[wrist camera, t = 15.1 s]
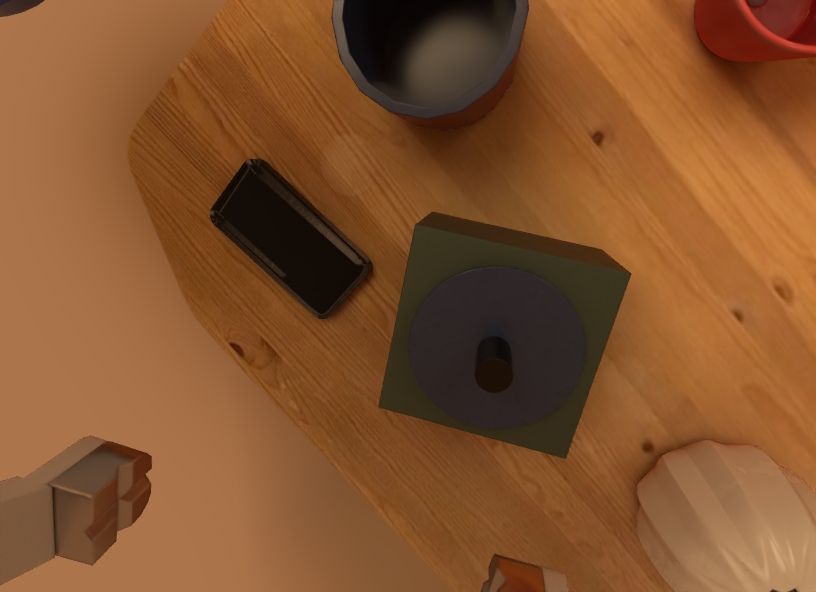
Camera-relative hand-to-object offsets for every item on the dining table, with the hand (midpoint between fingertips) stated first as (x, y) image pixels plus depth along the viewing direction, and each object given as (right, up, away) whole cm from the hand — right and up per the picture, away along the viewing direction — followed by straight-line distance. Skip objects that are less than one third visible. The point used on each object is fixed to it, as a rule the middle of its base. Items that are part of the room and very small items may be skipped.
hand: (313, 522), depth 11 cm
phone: (-9, +11, +34) cm, 37 cm away
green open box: (+10, +4, +32) cm, 34 cm away
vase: (+30, -13, +34) cm, 47 cm away
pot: (+5, +25, +28) cm, 37 cm away
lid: (+8, +1, +23) cm, 25 cm away
